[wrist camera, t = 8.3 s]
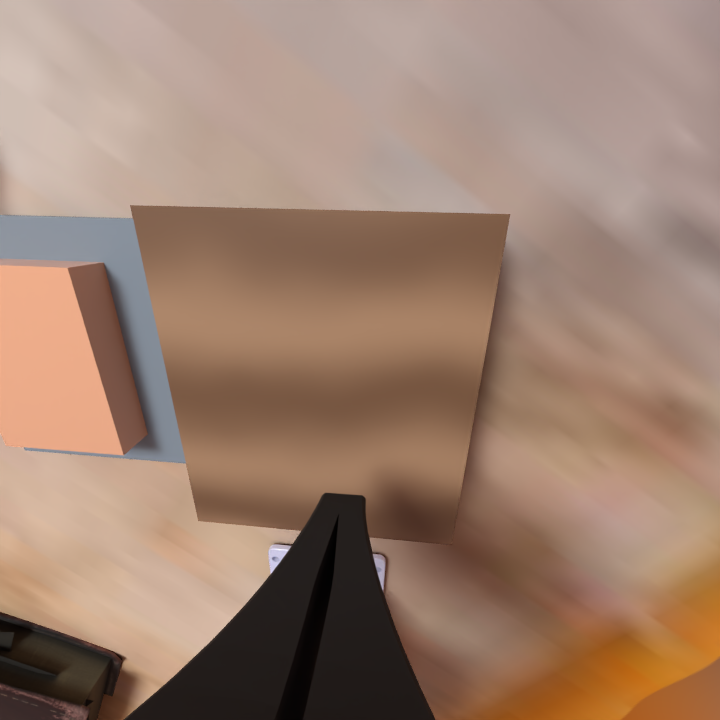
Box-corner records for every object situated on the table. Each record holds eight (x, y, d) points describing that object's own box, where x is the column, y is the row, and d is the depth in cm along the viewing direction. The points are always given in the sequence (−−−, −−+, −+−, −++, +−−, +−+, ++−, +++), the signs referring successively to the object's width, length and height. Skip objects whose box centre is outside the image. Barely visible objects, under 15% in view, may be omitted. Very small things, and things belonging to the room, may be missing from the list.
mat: (222, 462, 21) (220, 466, 21) (31, 446, 22) (25, 450, 22) (183, 219, 16) (178, 219, 16) (-68, 213, 17) (-78, 213, 17)
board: (441, 486, 20) (451, 544, 17) (231, 469, 21) (198, 520, 18) (481, 215, 15) (510, 213, 11) (191, 208, 16) (130, 205, 12)
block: (6, 445, 19) (40, 425, 21) (123, 455, 19) (147, 434, 21) (-78, 262, 15) (-28, 257, 17) (67, 267, 15) (103, 262, 17)
